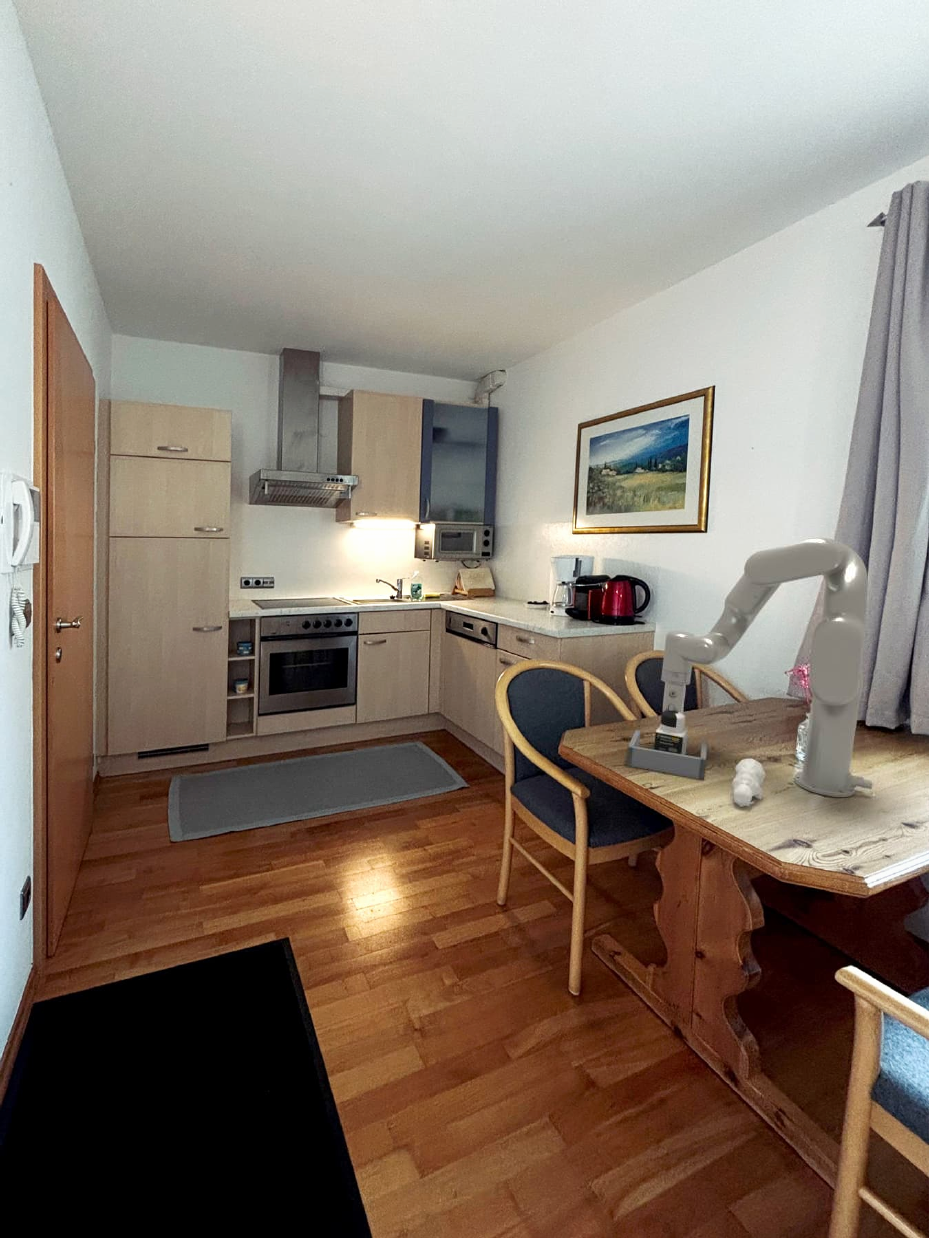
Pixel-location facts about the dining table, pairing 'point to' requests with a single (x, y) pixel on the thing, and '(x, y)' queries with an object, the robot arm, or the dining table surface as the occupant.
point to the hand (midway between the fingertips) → (668, 739)
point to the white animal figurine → (747, 781)
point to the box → (666, 760)
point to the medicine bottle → (671, 733)
